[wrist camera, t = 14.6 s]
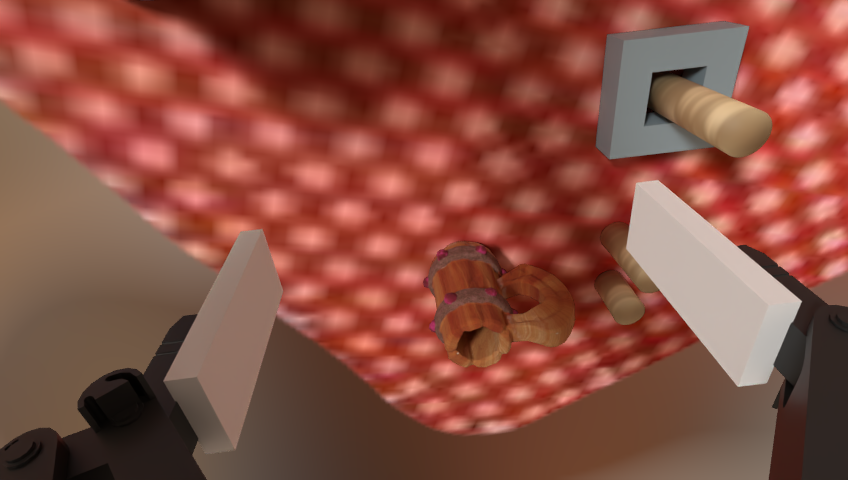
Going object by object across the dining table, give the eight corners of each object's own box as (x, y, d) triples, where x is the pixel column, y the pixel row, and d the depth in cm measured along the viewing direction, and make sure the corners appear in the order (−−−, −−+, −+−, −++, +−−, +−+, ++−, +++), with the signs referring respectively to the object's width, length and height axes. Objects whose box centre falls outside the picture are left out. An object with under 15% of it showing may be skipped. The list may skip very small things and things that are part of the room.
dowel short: (595, 272, 58) (615, 302, 53) (624, 268, 58) (647, 298, 53) (593, 294, 60) (612, 326, 55) (620, 291, 60) (642, 322, 55)
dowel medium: (600, 225, 54) (637, 267, 47) (631, 219, 54) (673, 260, 47) (600, 250, 56) (635, 295, 49) (629, 244, 56) (669, 289, 48)
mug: (426, 293, 58) (437, 390, 45) (416, 239, 54) (425, 328, 41) (542, 275, 58) (587, 366, 45) (541, 218, 53) (590, 301, 41)
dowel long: (639, 71, 45) (729, 113, 34) (676, 67, 45) (778, 107, 34) (634, 108, 47) (717, 160, 35) (669, 103, 47) (764, 154, 35)
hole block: (607, 34, 43) (623, 40, 40) (723, 20, 44) (749, 26, 40) (595, 146, 49) (609, 159, 46) (698, 134, 49) (719, 146, 46)
